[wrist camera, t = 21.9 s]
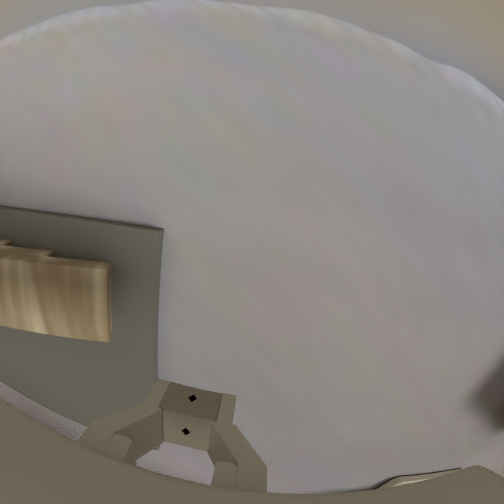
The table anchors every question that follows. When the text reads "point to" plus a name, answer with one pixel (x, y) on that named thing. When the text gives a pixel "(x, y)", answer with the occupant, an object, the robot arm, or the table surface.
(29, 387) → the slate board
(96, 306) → the domino
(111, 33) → the table surface
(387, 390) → the table surface
